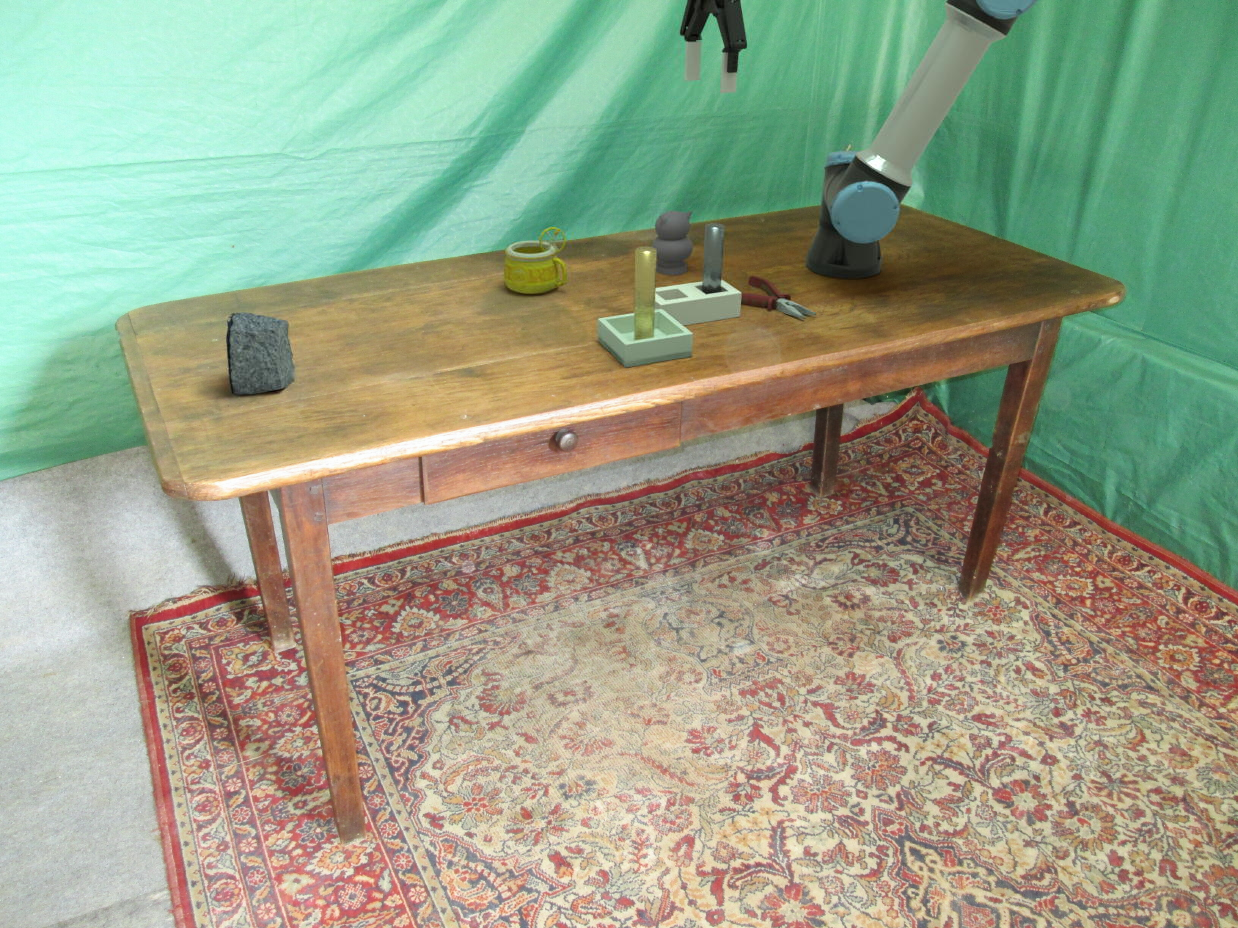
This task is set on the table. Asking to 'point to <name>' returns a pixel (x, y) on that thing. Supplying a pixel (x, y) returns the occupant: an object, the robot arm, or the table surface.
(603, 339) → the tray
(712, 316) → the pale green peg holder
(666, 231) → the cat figurine
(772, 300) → the pliers
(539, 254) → the mug
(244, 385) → the stone
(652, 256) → the pin brass
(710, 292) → the pin dark
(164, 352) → the table surface
